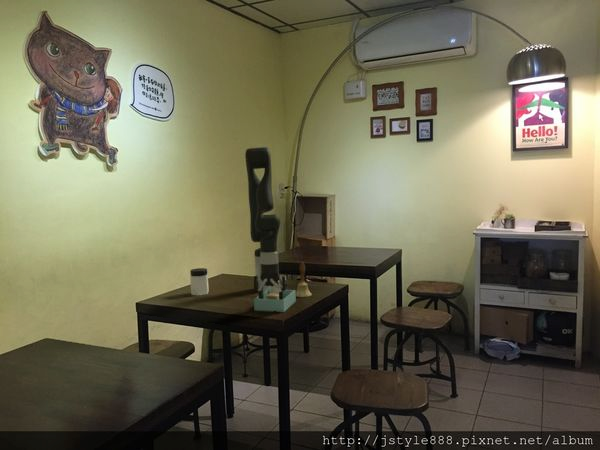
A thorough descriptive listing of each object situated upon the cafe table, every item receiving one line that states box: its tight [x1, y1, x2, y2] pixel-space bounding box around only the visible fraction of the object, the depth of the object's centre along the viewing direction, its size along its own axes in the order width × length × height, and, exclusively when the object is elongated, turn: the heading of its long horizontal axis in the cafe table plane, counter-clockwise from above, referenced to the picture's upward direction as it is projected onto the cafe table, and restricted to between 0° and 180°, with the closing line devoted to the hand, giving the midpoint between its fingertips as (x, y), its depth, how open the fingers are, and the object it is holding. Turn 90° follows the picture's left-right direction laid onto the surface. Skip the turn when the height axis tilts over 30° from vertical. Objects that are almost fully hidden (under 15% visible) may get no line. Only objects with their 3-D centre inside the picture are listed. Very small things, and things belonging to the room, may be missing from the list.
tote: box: [253, 289, 297, 313], centre depth 206 cm, size 17×13×5 cm
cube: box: [266, 293, 279, 300], centre depth 204 cm, size 5×5×5 cm
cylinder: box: [268, 286, 279, 294], centre depth 210 cm, size 5×5×10 cm
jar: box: [189, 267, 210, 296], centre depth 234 cm, size 9×8×12 cm
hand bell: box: [295, 261, 313, 298], centre depth 222 cm, size 8×8×16 cm
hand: (271, 299), depth 201 cm, fingers open, 8 cm apart
